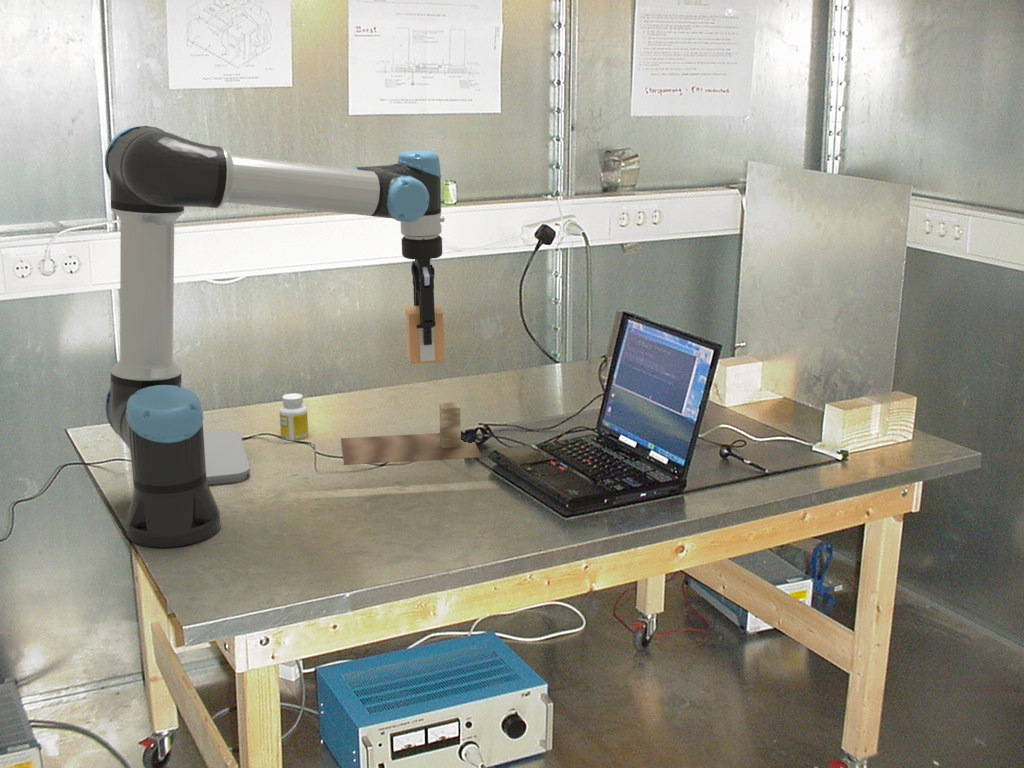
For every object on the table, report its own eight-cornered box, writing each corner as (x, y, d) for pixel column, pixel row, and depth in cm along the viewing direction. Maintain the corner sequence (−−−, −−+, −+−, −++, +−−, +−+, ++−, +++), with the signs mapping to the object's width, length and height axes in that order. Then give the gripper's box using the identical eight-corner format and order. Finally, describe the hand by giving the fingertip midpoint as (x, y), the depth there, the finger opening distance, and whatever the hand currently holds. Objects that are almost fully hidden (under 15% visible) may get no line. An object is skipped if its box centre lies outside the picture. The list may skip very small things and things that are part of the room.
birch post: (442, 447, 239) (441, 408, 237) (440, 441, 242) (439, 403, 240) (460, 446, 240) (460, 407, 237) (458, 440, 243) (457, 402, 241)
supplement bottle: (311, 438, 248) (309, 392, 245) (304, 448, 243) (302, 400, 240) (285, 437, 249) (283, 391, 246) (277, 447, 244) (275, 399, 241)
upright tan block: (410, 363, 232) (408, 314, 229) (407, 354, 238) (405, 306, 235) (444, 361, 233) (442, 312, 230) (439, 352, 239) (438, 304, 236)
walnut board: (344, 472, 230) (343, 464, 230) (341, 445, 245) (340, 438, 244) (481, 464, 235) (481, 457, 234) (470, 438, 249) (470, 431, 248)
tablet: (239, 438, 250) (238, 427, 249) (252, 483, 226) (251, 472, 225) (155, 446, 245) (155, 435, 244) (160, 493, 221) (159, 481, 221)
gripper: (448, 244, 220) (451, 368, 227) (435, 225, 238) (438, 340, 245) (406, 246, 219) (411, 370, 225) (396, 227, 237) (400, 343, 244)
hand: (425, 355), depth 235 cm, fingers closed on upright tan block, 6 cm apart
